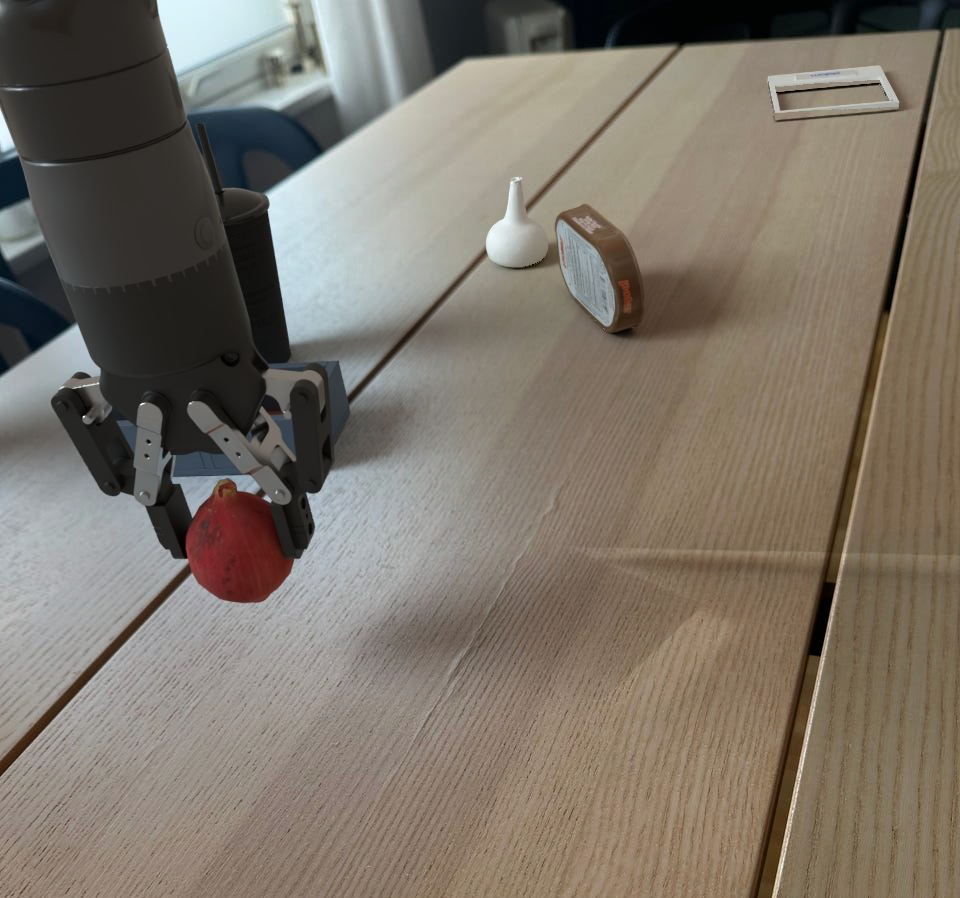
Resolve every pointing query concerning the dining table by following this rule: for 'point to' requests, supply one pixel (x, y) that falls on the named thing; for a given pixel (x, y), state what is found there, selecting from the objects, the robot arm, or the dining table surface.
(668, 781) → the dining table surface
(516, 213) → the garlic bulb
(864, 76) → the photo frame
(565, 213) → the tin
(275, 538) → the pomegranate
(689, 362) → the dining table surface
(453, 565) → the dining table surface
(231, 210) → the drinking cup
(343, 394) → the compartment box
